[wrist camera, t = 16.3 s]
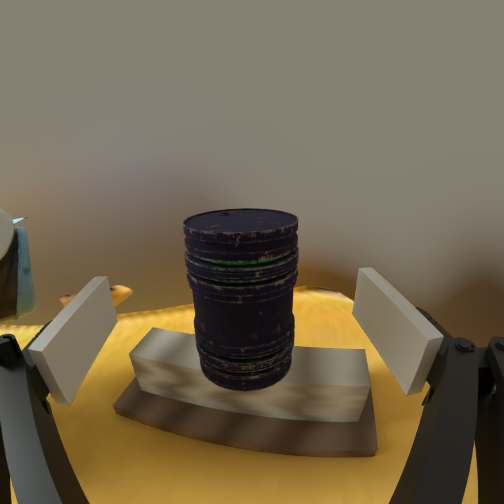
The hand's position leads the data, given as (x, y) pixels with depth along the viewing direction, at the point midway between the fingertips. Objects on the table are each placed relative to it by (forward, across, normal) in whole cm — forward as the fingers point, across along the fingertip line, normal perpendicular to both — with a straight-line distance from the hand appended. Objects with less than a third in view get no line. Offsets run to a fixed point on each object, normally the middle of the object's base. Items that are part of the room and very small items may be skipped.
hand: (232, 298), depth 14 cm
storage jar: (+11, +1, -14) cm, 17 cm away
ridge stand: (+11, +1, -21) cm, 24 cm away
